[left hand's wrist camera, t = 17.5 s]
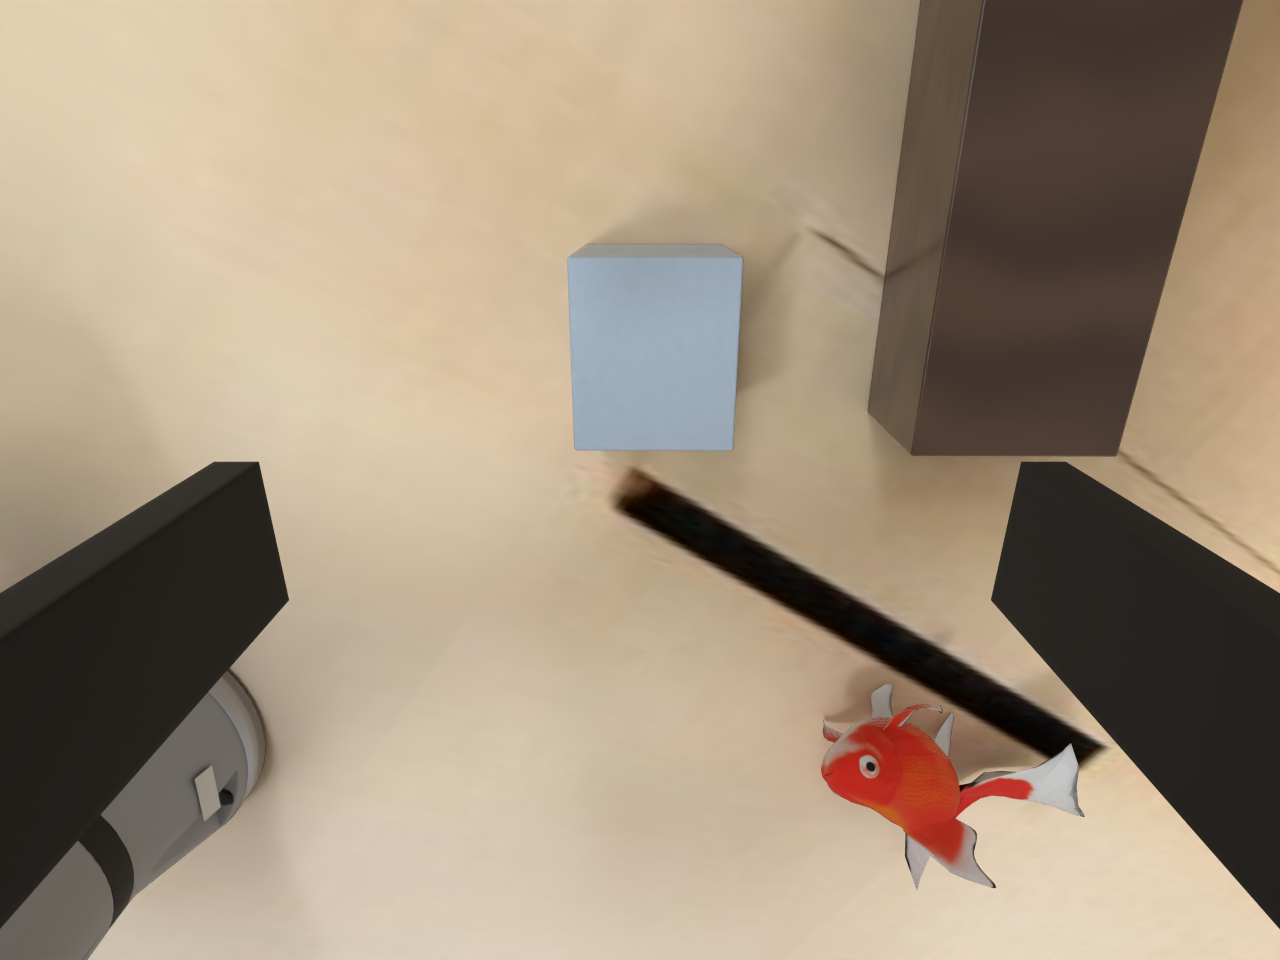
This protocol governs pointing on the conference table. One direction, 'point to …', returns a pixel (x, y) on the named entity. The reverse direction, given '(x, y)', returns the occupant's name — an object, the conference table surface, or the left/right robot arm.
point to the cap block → (654, 346)
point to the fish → (931, 784)
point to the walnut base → (1038, 217)
